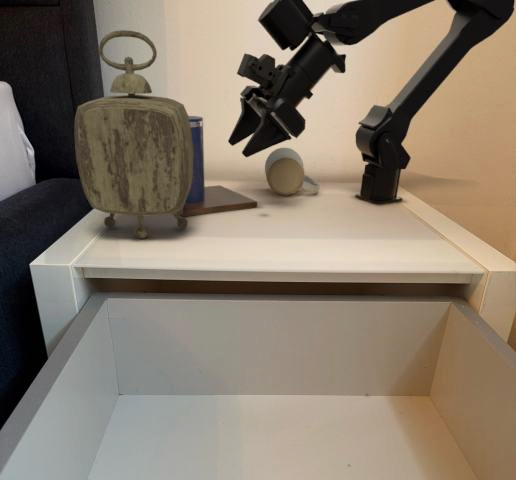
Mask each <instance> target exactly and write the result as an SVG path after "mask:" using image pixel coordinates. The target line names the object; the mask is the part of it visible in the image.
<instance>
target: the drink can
mask: <svg viewBox="0 0 516 480" xmlns="http://www.w3.org/2000/svg"><path fill="white" fill-rule="evenodd" d="M188 118H189V122H190V127H191V134H192V143H193V176H192V183H191V188H190V191H189V193H188V196H187V199H186V201H185V203H195V202H201V201H203V200H205V187H206V185H205V184H206V183H205V149H204V148H205V147H204V145H205V144H204V143H205V142H204V118H203V117H202V116H198V115H197V116H196V115H188Z"/></svg>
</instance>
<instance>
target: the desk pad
mask: <svg viewBox="0 0 516 480" xmlns="http://www.w3.org/2000/svg"><path fill="white" fill-rule="evenodd" d="M252 208H258V201H257V200H255V199H252V198H251V197H248V196H246V195H243V194H241V193H239V192H236V191H234V190H232V189H230V188H227V187H225V186H222V185H220V184H219V185H210V186H205V200H203V201H201V202H195V203H185V204H184V207H183V209H181V210H179V211H177V212H178V214H179V216H182V217H191V216H197V215H198V216H199V215H206V214H214V213H215V214H216V213H221V212H229V211H237V210H245V209H252Z"/></svg>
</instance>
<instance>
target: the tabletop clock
mask: <svg viewBox="0 0 516 480" xmlns="http://www.w3.org/2000/svg"><path fill="white" fill-rule="evenodd" d="M114 38H135V39H139V40H141V41H143V42H145V43H146V44H147V45H148V46H149V48H150V49H151V51H152V57H151V58H150V59H149V60H147V61H146V62H143V63H140V64H138V63H137V64H134V59H133V58H132V57H130V56H126V57H124V63H118V62H115V61H112V60H110V59H109V58H108V57H106V56H105V54H104V47H105V45H106V44H107V43H108V42H109V41H110V40H113V39H114ZM98 53H99V56H100V58H101V60H102V61H103V62H104V63H105V64H106V65H107V66H109V67H111V68H114V69H115V70H120V71H124V72H125V73H121V74H118V75H116V76H115V78H114V79H113V80H112V83H111V86H110V90H109V93H111V94H112V93H113V94H120V95H108V96H103V97H99V98H97V99H92V100H90V101H87V102H84V103H82V104H80V105H78V106H77V109H76V111H75V116H74V124H73V125H74V127H73V129H74V130H73V134H74V149H75V160H76V165H77V169H78V174H79V179H80V183H81V186H82V190H83V192H84V196H85V198H86V200H87V201H88V203H89V206H90V207H91V208H92V209H95V210H97V211H99V212H102V213H107V214H109V215H108V216H106V217H104V221H103V224H104V226H105V227H106V228H110V229H111V228H113V227H114V226H115V225H116V219H115V218H114V217H115V215H123V216H124V215H126V216H136V217H137V224H138V227H137V228H136V229H135V230H134V231H135V232H134V234H135V237H136V238H137V239H139V240H143V239H145V238H146V237H147V235H148V231H147V229H146V228H145V227H144V217H146V216H161V215H162V216H163V215H169V214H172V216H174V217H175V219H176V226H177V227H178V228H179V229H182V230H183V229H186V228H187V227H188V220H187V219H186V218H185V217H181V215H180V214H179V213H178V212H177V211H179V210H181V209H183V207H184V204H185V201H186V199H187V196H188V193H189V191H190V188H191V183H192V176H193V143H192V134H191V127H190V122H189V118H188V116H189V114H188V112H187V109H186V107H185V105H184V104H183V103H182V102H179V101H177V100H175V99H173V98H169V97H165V96H164V97H163V96H155V95H146V94H152V93H153V90H152V87H151V85H150V83H149V82H148V80H147V79H146V78H145V77H144V76H143V75H141V74H137V73H135V72H136V71H142V70H145V69H147V68H150V67H151V66H152V65H153V64H154V63H155V61H156V59H157V53H158V52H157V48H156V46H155V44H154V42H153V41H152V40H151V39H150V38H149V37H148V36H147V35H145V34H143V33H141V32H139V31H134V30H127V29H126V30H125V29H124V30H122V29H121V30H114V31H111V32H109V33H107V34H105V35H104V37H102V39H101V40H100V42H99V45H98ZM121 94H123V95H121Z"/></svg>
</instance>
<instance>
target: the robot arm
mask: <svg viewBox="0 0 516 480" xmlns="http://www.w3.org/2000/svg"><path fill="white" fill-rule="evenodd" d="M435 1H436V0H351V1H346V2H343V3H338V4H334V5H331V6H330V7H329V8H327V10H326V11H325V13H324V11H322V12H316V13H313V12H312V11H311V8H309V7H308V6H307V4H306V2H305V1H304V0H273V1H272V2H270V3H269V4H267V6H266V7H265V8H264V10H263V11H262V12H261V13H260V15H259V16H258V19H257V21H258V22H259V24H260V25H261V27H262V28H263V29H264V30H265V31H266V32H267V34H268V35H269V36H270V38H271V39H272V40H273V41H274V43H275V44H276V45H277V46H278V47H279V49H280V50H281V51H285V50H287V49H289V51H291V52H293V51H295V50H296V49H297V51H296V52H295V53H294V54H293V55H292V56H291V57H290V59H289V60H288V61H287V62H286V64H283V63H281V64H278V65H276V58H275V57H273V56H271V55H270V54H267V53H263V54H262V55H260V56H259V57H257V56H255V55H252V54H249V53H244V54H243V56H242V59H241V62H240V64H239V66H238V69H237V72H236V75H238V76H239V77H241V78H246V79H247V80H250V81H252V82H254V83H256V84H258V86H256V85H245V87H244V89H243V90H242V91H241V92H240V96H241V97H240V98H239V102H240V108H241V111H240V112H241V113H240V115H239V117H238V119H237V121H236V124H235V126H234V128H233V130H232V132H231V134H230V136H229V138H228V140H227V142H228V144H229V145H230V146H232V147H233V146H235V145H237V144H239V143H241V142H243V141H244V140H245V139H247V138H249V137H250V139H249V140H248V141H247V142H246V144H245V146H244V148H243V149H242V151H241V154H242V155H243V156H244V157H245V158H249V157H251V156H254V155H256V154H257V153H260V152H262V151H265V150H266V149H267V150H268V149H269V148H271V147H274V146H277V145H279V144H281V143H283V142H286V141H291V140H292V139H293V138H295V139H298V137H299V136H301V134H302V133H303V132H304V131H305V130H306V119H305V118H304V116H303V115H302V114H301V113H300V112H299V110H298V109H297V108H298V106H300V105H301V103H302V102H303V101H304V100H305V99H307V100H310V99H312V97H313V96H314V93H313V92H312V91H313V89H314V88H315V87H316V86H317V85H318V84H319V83H320V81H322V79H323V78H324V77H325V76H326V75H327V74H328V72H329V71H330V70H331V69H332V71H333V72H334V73H335V74H345V73H346V71H347V69H346V68H347V67H346V59H347V54H346V53H338V52H337V50H336V49H335V47H344V46H346V47H347V46H354V45H357V44H359V43H360V42H362V41H363V40H365V39H366V38H367V37H369V36H371V35H372V34H374V33H375V32H376V31H378V30H379V29H380V28H381V27H382V26H383V25H384V24H386V23H387V22H388V21H392V20H393V19H395V18H398V17H399V16H402V15H405V14H407V13H410V12H411V11H414V10H416V9H419V8H420V7H423V6H425V5H428V4H430V3H433V2H435ZM444 1H445V2H446V4H447V5H448V7H449V8H450V10H452V11H454V12H455V13H454V15H453V17H452V21H451V24H450V27H449V30H448V32H447V33H446V35H445V36H444V38H442V40H441V41H440V42H439V43H438V45H437V46H436V47H435V49H434V50H432V52H431V53H430V54H429V55H428V57H427V58H426V59H425V60H424V62H423V63H422V64H421V65H420V67H419V68H418V69H417V70H416V71H415V73H414V74H413V75H412V76H411V78H410V79H409V80H408V81H407V82H406V84H404V86H403V87H402V89H400V91H399V92H398V93H397V94H396V96H395V97H394V98H393V99H392V100H391V102H389V103H388V104H386V105H385V106H384V105H378V104H373V106H371V108H370V109H369V111H368V113H367V114H366V115H365V117H364V118H363V119H362V120H360V121H358V125H360V126H359V127H358V129H357V130H356V132H355V144H356V148H357V150H358V151H359V152H360V155H361V159H362V162H364V163H366V164H364V170H363V171H364V172H363V173H362V176H361V177H362V178H361V186H360V192H359V193H355V197H356V198H358V199H362V200H365V201H366V202H367V201H368V202H370V203H374V204H377V205H381V204H387V203H389V204H390V203H393V202H394V203H395V202H402V201H403V199H404V198H403V197H402V196H398V190H399V186H400V185H399V184H400V179H401V171H402V170H406V169H407V167H408V166H409V163H410V161H411V158H412V157H411V155H410V154H409V153H408V151H407V150H406V149H405V147H404V146H403V145H402V144H403V142H404V141H405V139H406V137H407V136H408V133H409V129H410V125H411V123H412V120H413V119H414V117H415V116H416V115H417V113H419V111H420V110H421V109H422V108H423V106H424V105H425V104H426V103H427V101H429V99H430V98H431V97H432V96H433V95H434V93H435V92H436V91H437V90H438V89H439V87H440V86H441V85H442V84H443V83H444V82H445V80H447V78H448V77H449V76H450V74H451V73H452V72H453V71H454V70H455V69H456V67H457V66H458V65H459V64H460V63H461V61H463V59H464V57H466V55H467V54H468V53H469V52H470V51H471V50H472V49H473V48H474V47H475V46H477V45H478V44H480V43H482V42H483V41H485V40H486V39H488V38H490V37H492V36H493V35H494V34H495V33H496V32H497V31H498V30H499V29H501V28H502V27H503V26H504V25H505V24H506V23H507V22H508V21H509V20H510V18H511V17H512V15H513V14H514V12H515V2H516V1H515V0H444ZM319 35H320V36H323V38H324V39H325V40H322V39H321V38H320V37H319ZM292 137H293V138H292Z"/></svg>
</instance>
